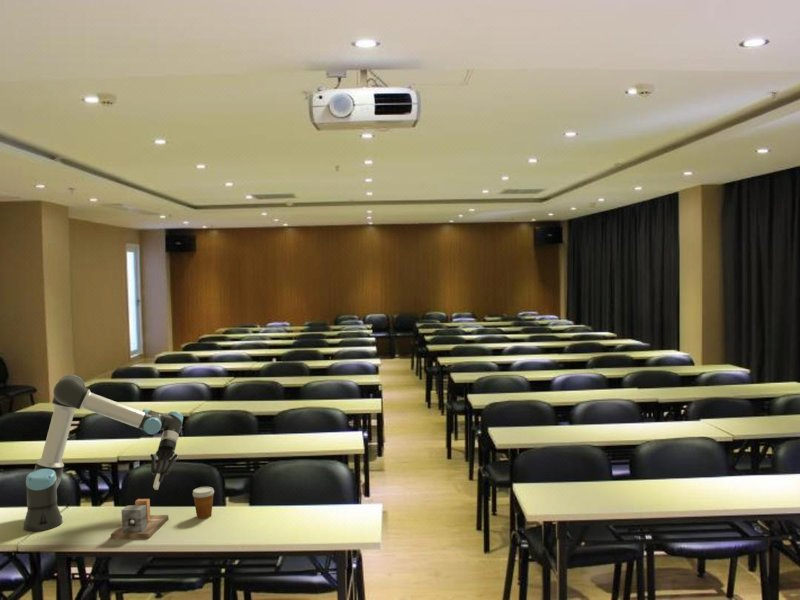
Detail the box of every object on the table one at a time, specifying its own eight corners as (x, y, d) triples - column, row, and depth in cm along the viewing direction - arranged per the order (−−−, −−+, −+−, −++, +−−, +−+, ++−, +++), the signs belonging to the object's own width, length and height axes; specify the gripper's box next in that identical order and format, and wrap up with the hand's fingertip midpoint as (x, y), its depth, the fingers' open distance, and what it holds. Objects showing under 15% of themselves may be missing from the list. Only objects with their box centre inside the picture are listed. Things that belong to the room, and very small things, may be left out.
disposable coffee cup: (192, 521, 307) (191, 494, 307) (193, 514, 316) (192, 487, 316) (215, 518, 310) (214, 491, 309) (215, 511, 319) (214, 485, 318)
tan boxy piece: (126, 530, 291) (125, 509, 290) (139, 519, 304) (138, 499, 303) (138, 530, 290) (137, 509, 290) (150, 519, 303) (149, 498, 303)
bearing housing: (110, 538, 288) (109, 512, 288) (132, 520, 310) (131, 495, 310) (149, 538, 288) (148, 511, 288) (168, 519, 310) (167, 494, 309)
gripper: (184, 446, 332) (172, 492, 316) (157, 446, 333) (143, 492, 317) (179, 438, 327) (167, 484, 311) (152, 438, 327) (138, 484, 311)
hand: (155, 488), depth 314 cm, fingers closed
